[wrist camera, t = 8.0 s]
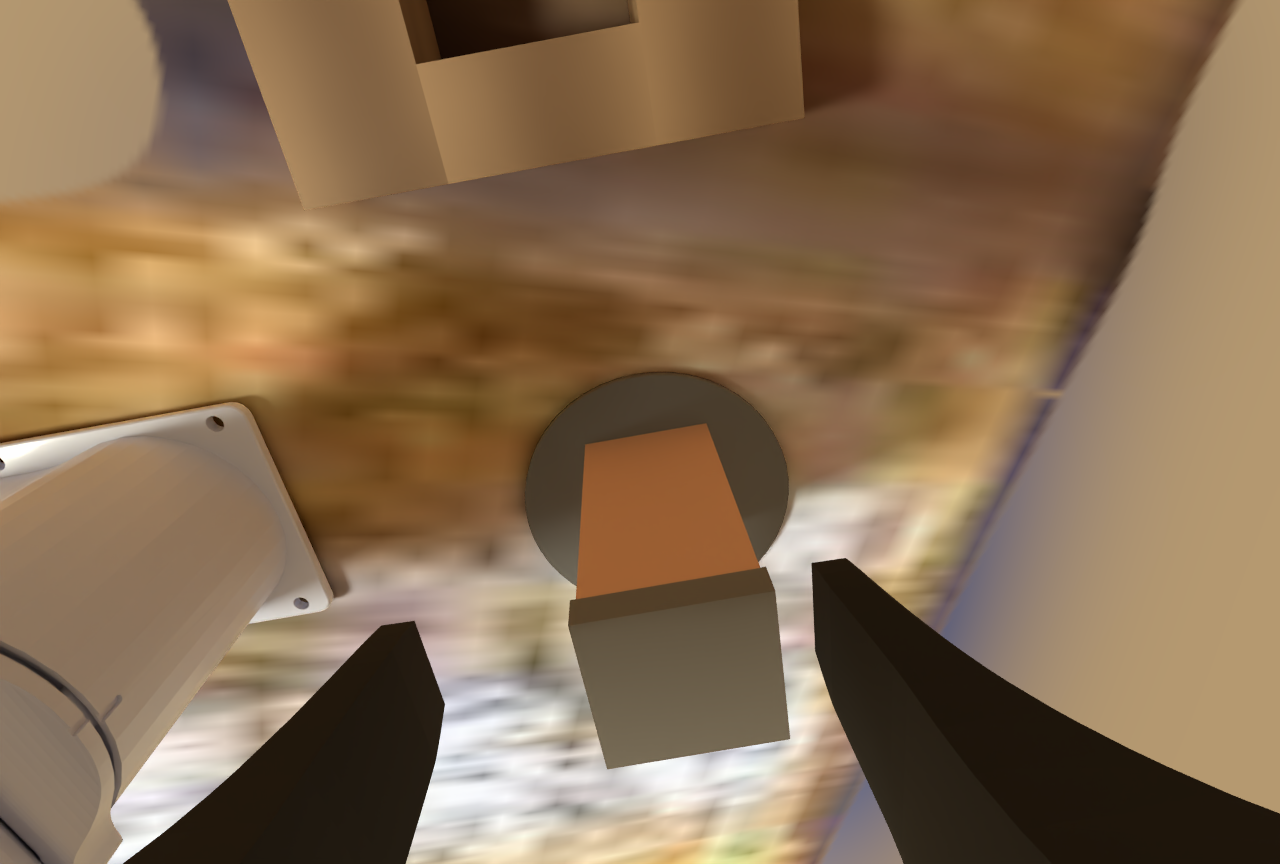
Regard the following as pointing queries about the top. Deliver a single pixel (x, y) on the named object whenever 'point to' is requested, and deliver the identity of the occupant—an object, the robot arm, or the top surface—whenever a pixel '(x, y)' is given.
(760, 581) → the plug
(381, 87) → the tan square socket
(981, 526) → the top surface
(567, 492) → the coaster
